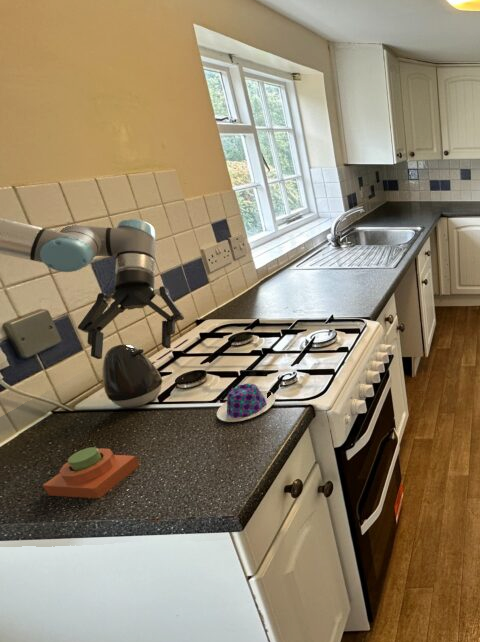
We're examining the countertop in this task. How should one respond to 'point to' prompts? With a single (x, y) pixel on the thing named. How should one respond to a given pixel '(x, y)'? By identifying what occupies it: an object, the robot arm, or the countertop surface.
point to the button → (84, 458)
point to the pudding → (245, 403)
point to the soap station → (92, 476)
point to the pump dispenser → (130, 376)
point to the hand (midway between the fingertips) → (132, 352)
